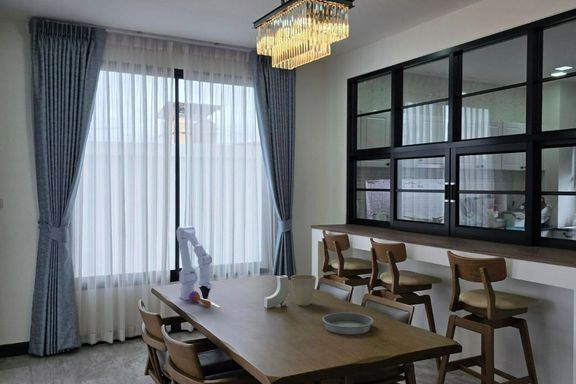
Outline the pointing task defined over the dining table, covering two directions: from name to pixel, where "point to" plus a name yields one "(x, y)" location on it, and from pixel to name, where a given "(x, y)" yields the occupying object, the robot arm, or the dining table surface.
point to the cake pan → (347, 323)
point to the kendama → (198, 298)
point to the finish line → (211, 303)
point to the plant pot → (303, 288)
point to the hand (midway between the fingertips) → (205, 298)
